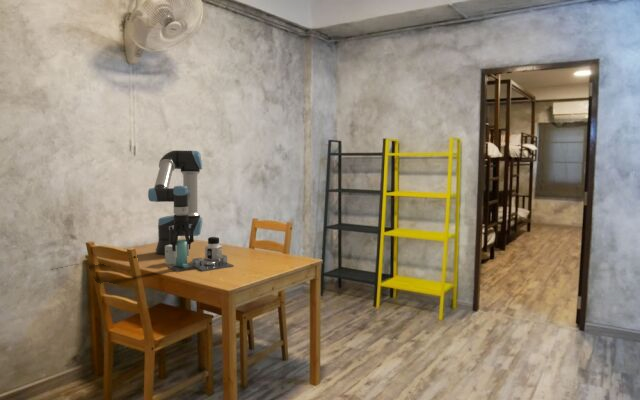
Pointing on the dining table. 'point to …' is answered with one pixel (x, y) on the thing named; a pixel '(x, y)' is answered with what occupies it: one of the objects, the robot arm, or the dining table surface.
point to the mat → (181, 268)
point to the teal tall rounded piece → (181, 253)
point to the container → (213, 248)
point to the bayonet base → (210, 263)
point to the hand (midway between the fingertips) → (181, 256)
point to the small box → (169, 255)
